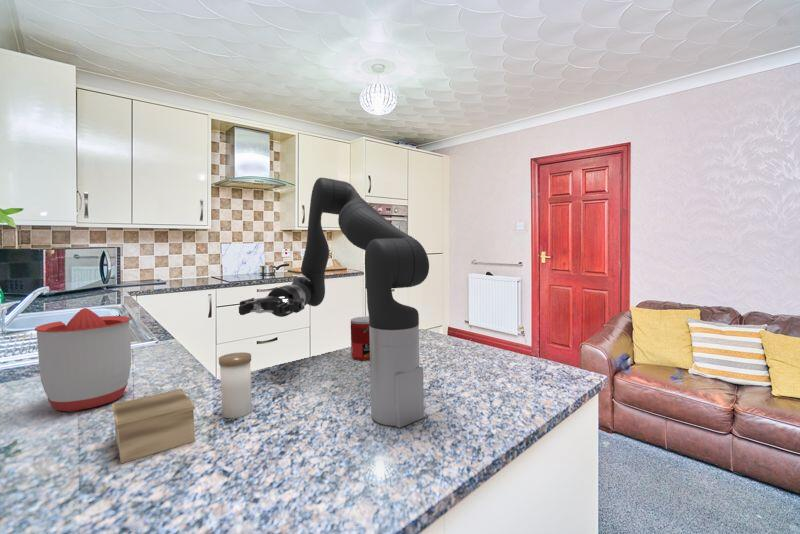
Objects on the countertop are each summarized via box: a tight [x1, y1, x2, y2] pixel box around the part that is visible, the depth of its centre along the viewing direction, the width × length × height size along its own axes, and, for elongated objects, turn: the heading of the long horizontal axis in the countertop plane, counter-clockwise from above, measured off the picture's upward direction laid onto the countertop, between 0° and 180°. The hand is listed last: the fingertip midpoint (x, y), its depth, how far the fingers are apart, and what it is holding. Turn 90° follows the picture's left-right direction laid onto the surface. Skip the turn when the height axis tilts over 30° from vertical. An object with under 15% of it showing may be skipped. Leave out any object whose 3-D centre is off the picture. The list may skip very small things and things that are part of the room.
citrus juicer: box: [34, 307, 132, 413], centre depth 82 cm, size 16×17×20 cm
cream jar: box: [218, 352, 253, 419], centre depth 75 cm, size 6×6×11 cm
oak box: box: [111, 388, 196, 464], centre depth 64 cm, size 10×10×6 cm
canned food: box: [350, 316, 370, 361], centre depth 111 cm, size 8×8×11 cm
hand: (259, 310), depth 85 cm, fingers open, 8 cm apart
